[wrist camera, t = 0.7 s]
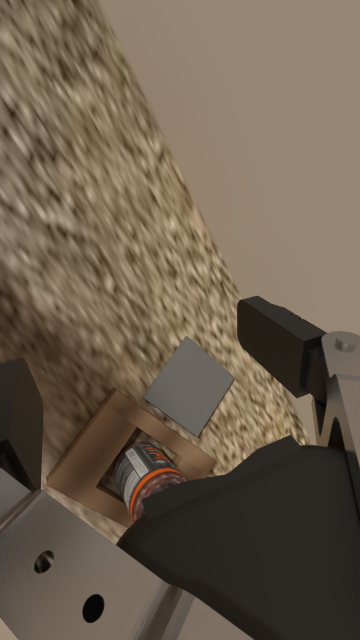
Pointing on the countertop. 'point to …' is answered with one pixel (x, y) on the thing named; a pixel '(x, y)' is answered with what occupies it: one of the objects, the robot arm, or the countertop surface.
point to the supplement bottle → (143, 475)
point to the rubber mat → (189, 386)
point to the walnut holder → (105, 444)
